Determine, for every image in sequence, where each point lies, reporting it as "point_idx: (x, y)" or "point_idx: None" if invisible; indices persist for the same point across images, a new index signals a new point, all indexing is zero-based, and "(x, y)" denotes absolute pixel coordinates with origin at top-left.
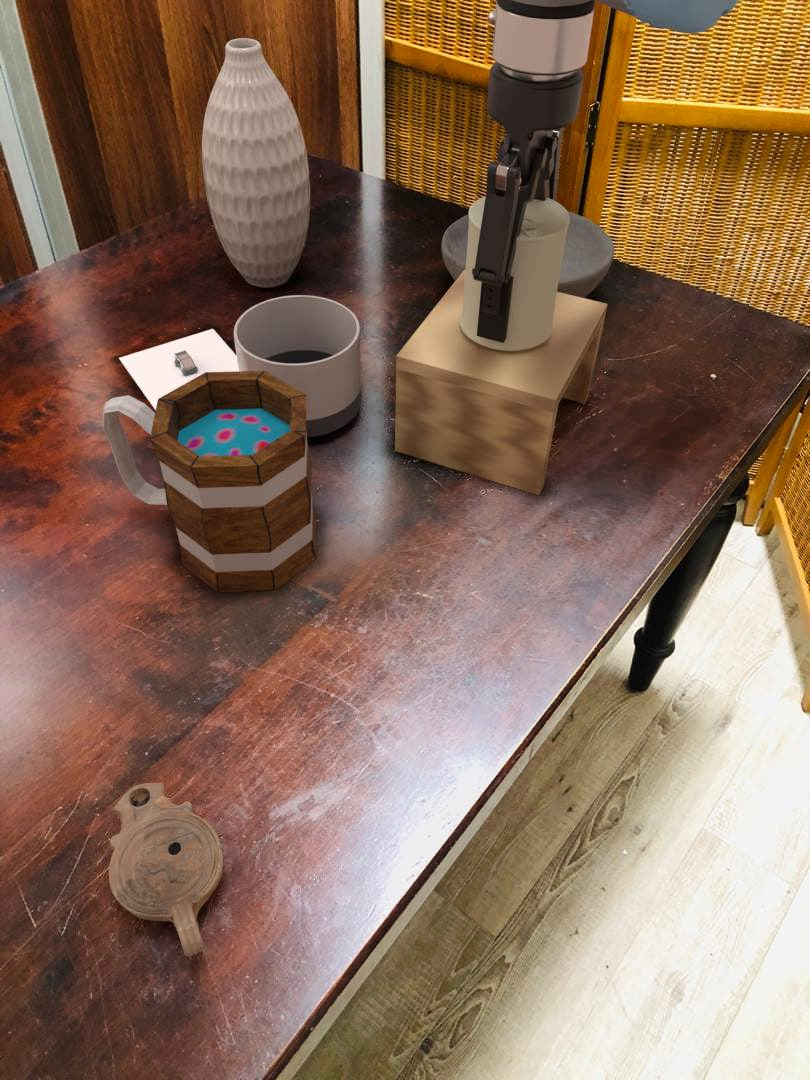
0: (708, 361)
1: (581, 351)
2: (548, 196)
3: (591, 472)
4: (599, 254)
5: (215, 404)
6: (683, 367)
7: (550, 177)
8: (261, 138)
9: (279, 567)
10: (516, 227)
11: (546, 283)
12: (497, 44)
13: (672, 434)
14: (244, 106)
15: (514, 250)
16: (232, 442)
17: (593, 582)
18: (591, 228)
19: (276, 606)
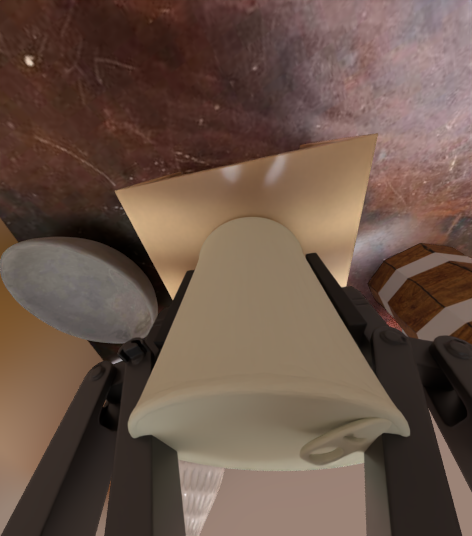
0: (16, 83)
1: (241, 164)
2: (122, 433)
3: (260, 112)
4: (27, 255)
5: None
6: (53, 107)
7: (70, 487)
8: (209, 466)
9: (459, 254)
10: (448, 495)
11: (288, 270)
12: None
13: (153, 53)
14: (208, 497)
15: (396, 393)
16: None
17: (424, 3)
18: (10, 278)
19: (466, 239)
